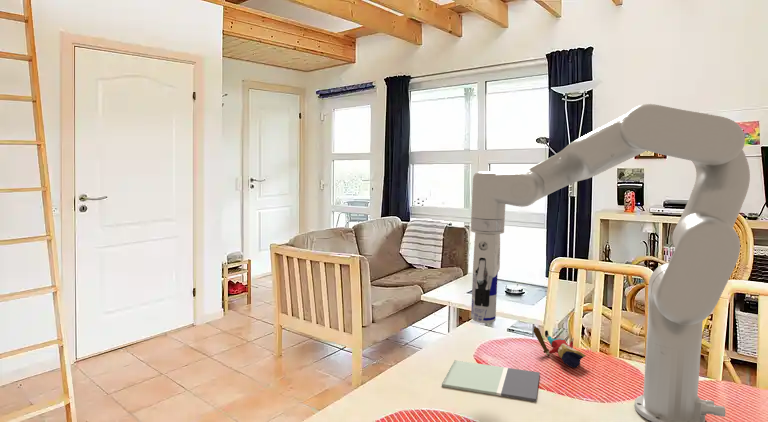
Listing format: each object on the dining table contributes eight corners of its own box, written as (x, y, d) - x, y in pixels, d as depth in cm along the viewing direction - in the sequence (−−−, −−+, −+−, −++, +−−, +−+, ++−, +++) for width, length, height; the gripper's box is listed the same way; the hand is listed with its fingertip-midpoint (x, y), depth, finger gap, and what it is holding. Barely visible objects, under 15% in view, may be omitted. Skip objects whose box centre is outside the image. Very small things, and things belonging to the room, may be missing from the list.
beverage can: (495, 325, 111) (498, 260, 109) (470, 323, 112) (473, 259, 110) (495, 317, 117) (497, 255, 115) (471, 315, 118) (473, 254, 116)
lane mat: (539, 374, 120) (539, 372, 119) (536, 401, 106) (536, 399, 106) (454, 362, 127) (454, 360, 127) (441, 386, 114) (441, 383, 114)
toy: (564, 325, 137) (591, 348, 122) (561, 347, 138) (587, 372, 123) (532, 324, 136) (555, 347, 121) (529, 346, 137) (552, 371, 122)
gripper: (499, 232, 103) (495, 315, 105) (508, 221, 119) (504, 294, 121) (463, 229, 105) (460, 311, 108) (477, 219, 121) (474, 290, 124)
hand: (483, 301), depth 114 cm, fingers closed on beverage can, 4 cm apart
